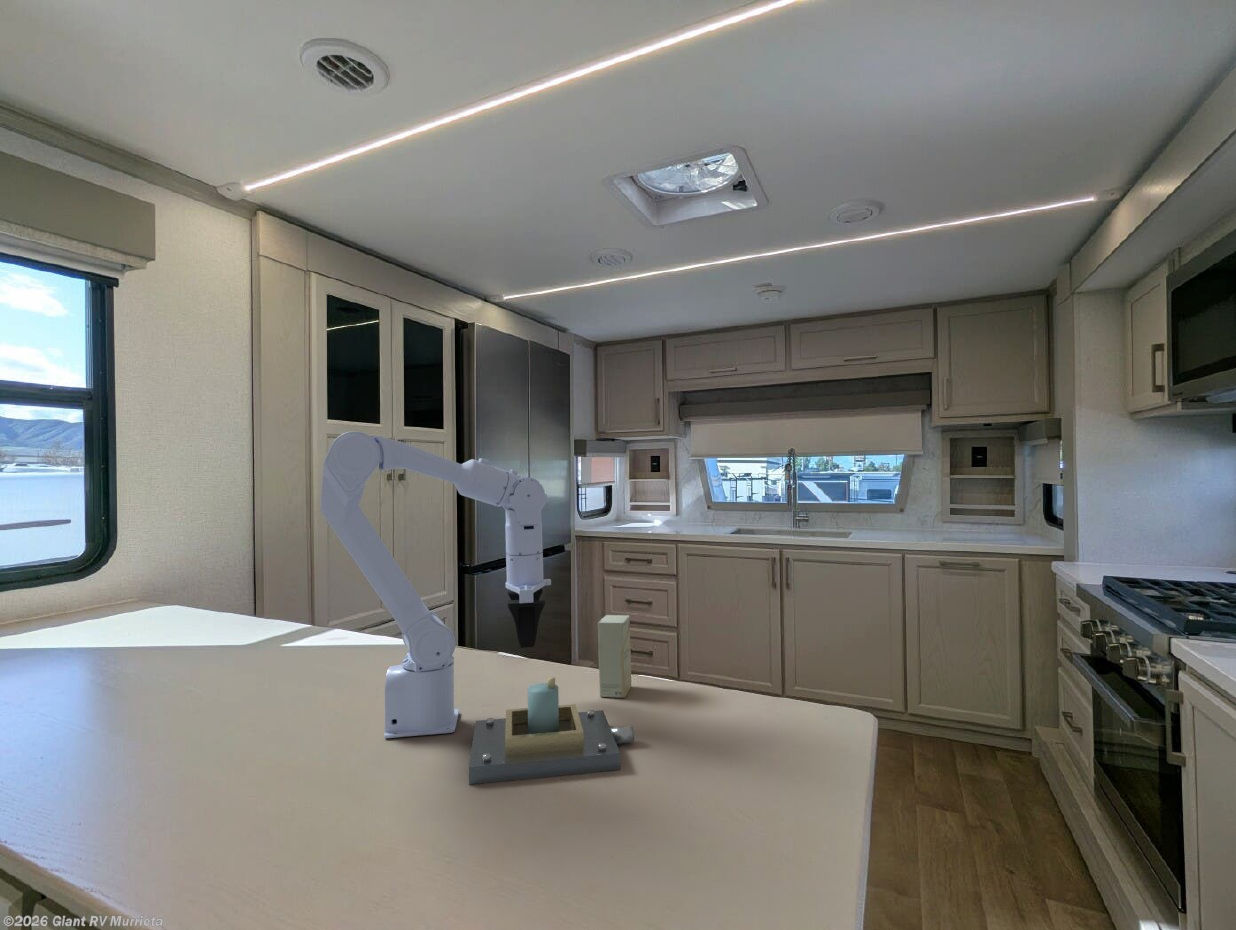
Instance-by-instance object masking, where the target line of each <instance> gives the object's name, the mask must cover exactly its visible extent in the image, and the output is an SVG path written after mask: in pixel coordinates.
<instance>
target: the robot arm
mask: <svg viewBox="0 0 1236 930" xmlns="http://www.w3.org/2000/svg"><path fill="white" fill-rule="evenodd" d="M489 463H490V460H489V459H486V458H484V457H483V458H478V460H477V459H473V458H471V459H469V460H467V461H465V462H463V463H459V462H456V461H454V460H451V459H449V458H446V457H443V456H441V455H437V454H435V453H433V452H429V451H427V450H424V449H422V448H420V447H416V446H414V445H412V444H408V443H405V442H403V441H399V440H396V439H392V438H387V437H383V436H378V435H374V436H373V437H372V436H371V435H370V434H367V433H365V432H363V431H347V432H344V433H342V434H340V435H338V436H337V437H336V438H335V439H334V440H333V442H332V443H331V445H330V448H329V449H328V452H327V454H326V456H325V458H324V461H323V466H322V479H321V481H322V482H321V490H320V491H321V494H320V504H319V505H320V506H319V507H320V511H321V515H322V516H323V518H324V519H325V521H326V522H327V523H328V525H329V526H330V527H331V529H332V531H333V532H334V534H335V535H336V536H337V538H338V539H339V540H340V543H341V544H342V545H343V546H344V548H345V550H346V551H347V552H348V554H349V555H350V556H351V558H352V560H353V561H354V562H355V564H356V565H357V567H358V568H359V570H360V571H361V573H362V574H363V576H364V577H365V578H366V580H367V581H368V583H369V584H370V586H371V587H372V588H373V590H374V592H375V593H376V594H377V596H378V597H379V599H380V600H381V602H382V603H383V605H384V606H385V607H386V609H387V611H388V612H389V613H390V615H391V616H392V618H393V619H394V621H395V622H396V624H397V626H398V627H399V629H400V630H401V636H402V641H403V644H404V645H405V647H406V648H407V649H408V652H407V654H406V656H404V659H403V660H402V662H401V664H398V665H391V666H389V667H388V668H387V672H386V676H385V683H384V685H385V686H384V734H383V738H384V739H392V738H393V739H394V738H404V737H414V736H415V737H416V736H428V735H429V736H430V735H439V734H440V735H441V734H450V733H454V732H456V731H455V730H456V727H457V723H458V719H459V715H460V709H458V708H455V667H454V666H455V664H454V660H455V659H454V658H455V657H454V656H453V655H454V653H455V650H456V644H457V643H456V642H457V641H456V638H455V634H454V632H453V630H451V628H450V627H448V626H447V625H446V624H445V623H444V620H443V619H442V618H441V617H440V616H439V614H437V613H434V612H432V611H431V610H429V609H428V607H427V605H426V604H425V603H424V601H423V600H422V598H421V597H420V595H419V594H418V592H417V591H416V589H415V587H414V586H413V584H412V583H411V582H410V581H409V579H408V578H407V576H406V575H405V573H404V572H403V570H402V568H401V567H400V566H399V564H398V563H397V561H396V559H395V557H393V555H392V554H391V551H390V550H389V549H388V548H387V546H386V545H385V543H384V542H383V540H382V539H381V537H380V535H379V534H378V532H377V531H376V530H375V528H374V527H373V526H372V524H371V522H370V521H369V519H368V518H367V516H366V515H365V513H364V512H363V510H362V509H361V507H360V505H361V504H360V503H361V500H362V497H363V494H364V491H365V487H366V484H367V482H368V480H369V479H370V477H372V475H373V473H374V472H375V470H376V469H377V467H378V471H379V472H381V471H382V472H383V471H387V470H397V469H402V470H403V469H404V470H406V471H410V472H413V473H416V474H421V475H423V476H427V477H430V478H435V479H437V480H440V481H444V482H448V483H452V484H453V485H454V486H455V488H456V490H457V492H458V494H459V495H461V496H463V497H465V498H468V499H471V500H475V501H479V502H481V503H485V504H488V505H491V506H494V507H502V508H503V509H504V510H505V524H504V526H505V527H504V528H505V530H504V531H505V562H506V563H505V564H506V568H505V569H506V582H505V588H506V589H507V590H508V591H507V595H508V597H509V599H507V601H506V606H507V608H508V609H509V611H510V614H511V615H512V619H513V621H514V625H515V630H516V635H517V639H518V644H519V646H520V648H521V649H523V648H534V647H535V645H536V642H537V636H538V635H537V633H538V627H539V622H540V617H541V615H542V612H543V609H544V608H545V604H546V600H545V599H541V600H540V598H541V596H542V594H543V587H545V586H551V585H552V580H551V578H544V555H543V554H544V553H543V552H544V548H543V546H544V545H543V523H542V522H543V521H542V510H543V508H544V507H545V506H546V503H547V498H548V494H546V493H545V489H544V487H543V484H541V483H540V481H538V480H537V479H536V478H534V477H528V476H527V477H525V476H524V477H521V476H518V470H515V469H510V470H509V471H508V470H506V469H502V468H500V467H498V466H495V465H491V464H489Z"/></svg>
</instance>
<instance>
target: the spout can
mask: <svg viewBox="0 0 1236 930" xmlns="http://www.w3.org/2000/svg"><path fill="white" fill-rule="evenodd" d="M559 699H560V698H559V686H558V685H557V684H556V677H554V676H549V677H548V678H547V682H542V683H541V682H540V683H536V684H532V685H530V686H528V688H527V708H528V734H538V733H549V732H559V703H560V702H559Z"/></svg>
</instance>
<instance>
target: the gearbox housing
mask: <svg viewBox="0 0 1236 930" xmlns="http://www.w3.org/2000/svg"><path fill="white" fill-rule="evenodd" d="M634 742H635V729H634V726H633V725H629V726H628V725H627V726H614V727H611V726H610V725H609V722H608V720H607V716H606V714H605V711H604V710H594V709H587V711H579V712H578V708H577V704H575V703H573V704H561V705H559V732H549V733H538V734H528V707H524V708H523V707H522V708H511V709H510V708H509V709H505V718H504V717H503V718H493V717H487V718H486V719H480V720H475V722H474V730H473V737H472V744H471V749H470V755H469V756H470V757H469V762H468V785H469V786H471V785H480V784H489V783H498V782H499V783H500V782H508V781H509V782H510V781H518V780H521V781H522V780H529V779H538V778H539V779H540V778H541V779H542V778H549V777H558V776H559V777H562V776H570V775H580V774H590V773H599V772H611V771H619V770H620V771H621V752H620V749H619V747H618V744H627V743H629V744H630V743H634Z"/></svg>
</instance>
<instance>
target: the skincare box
mask: <svg viewBox="0 0 1236 930" xmlns="http://www.w3.org/2000/svg"><path fill="white" fill-rule="evenodd" d="M630 622H631V621H630V615H628V614H627V615H626V614H623V615H622V614H617V615H616V614H605V615H604V616H603V617H602V618H601V619H600V620H599V621H598V622H597V632H598V633H597V634H598V639H597V640H598V671H599V673H598V678H599V697H605V698H616V699H617V698H618V699H619V698H623V699H625V698H626V697H627V695H628V693H629V691H630V689H631V687H632V654H631V653H632V652H631V629H630V628H631V627H630V626H631V625H630Z"/></svg>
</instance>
